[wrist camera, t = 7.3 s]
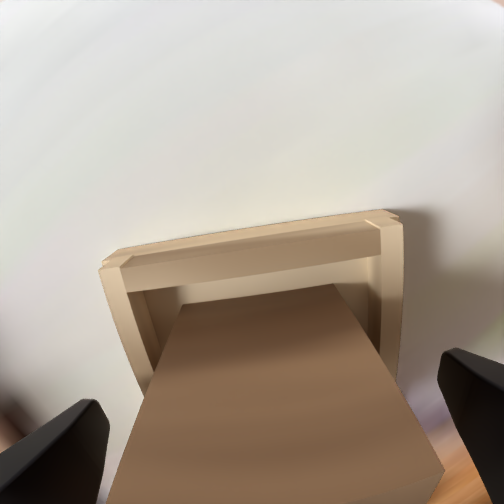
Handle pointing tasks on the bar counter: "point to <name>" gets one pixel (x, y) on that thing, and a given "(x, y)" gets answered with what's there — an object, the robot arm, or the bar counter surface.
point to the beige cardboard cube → (274, 411)
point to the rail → (259, 277)
